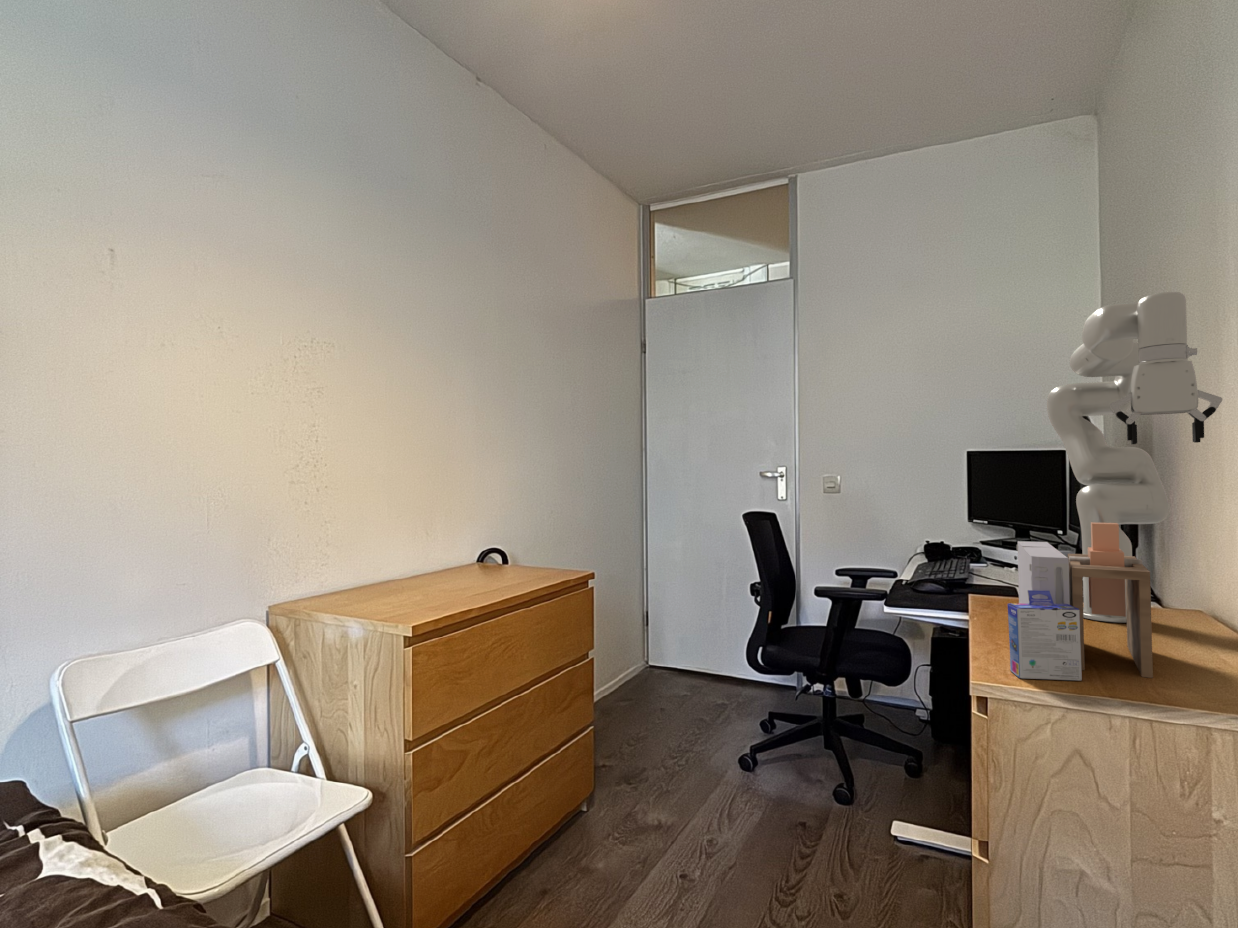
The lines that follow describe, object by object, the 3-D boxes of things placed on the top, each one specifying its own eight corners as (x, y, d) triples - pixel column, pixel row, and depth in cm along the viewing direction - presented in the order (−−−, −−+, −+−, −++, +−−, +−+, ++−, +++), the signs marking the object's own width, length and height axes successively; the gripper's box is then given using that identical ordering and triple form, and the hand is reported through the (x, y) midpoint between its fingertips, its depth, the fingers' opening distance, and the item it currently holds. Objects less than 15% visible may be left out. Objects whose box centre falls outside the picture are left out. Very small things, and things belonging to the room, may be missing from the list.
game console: (1033, 666, 121) (1030, 556, 121) (1018, 632, 145) (1016, 541, 146) (1071, 670, 118) (1068, 557, 119) (1049, 634, 143) (1047, 542, 143)
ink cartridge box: (1069, 672, 117) (1067, 589, 117) (1084, 682, 112) (1082, 595, 112) (1007, 669, 119) (1005, 588, 119) (1019, 679, 114) (1017, 594, 114)
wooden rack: (1069, 640, 138) (1067, 549, 138) (1136, 647, 132) (1134, 552, 132) (1074, 668, 119) (1071, 563, 119) (1152, 677, 113) (1150, 567, 113)
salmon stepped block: (1089, 606, 130) (1086, 521, 131) (1121, 608, 128) (1118, 522, 128) (1091, 613, 123) (1089, 524, 123) (1125, 616, 120) (1123, 525, 121)
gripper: (1216, 354, 130) (1218, 442, 130) (1106, 363, 140) (1108, 445, 140) (1225, 349, 124) (1227, 441, 124) (1110, 358, 133) (1112, 444, 133)
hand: (1164, 443), depth 132 cm, fingers open, 9 cm apart
